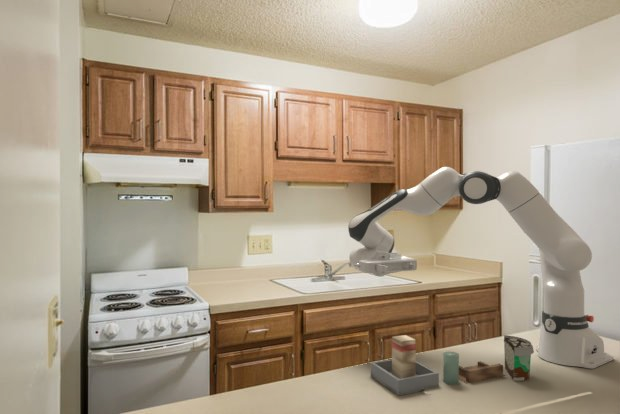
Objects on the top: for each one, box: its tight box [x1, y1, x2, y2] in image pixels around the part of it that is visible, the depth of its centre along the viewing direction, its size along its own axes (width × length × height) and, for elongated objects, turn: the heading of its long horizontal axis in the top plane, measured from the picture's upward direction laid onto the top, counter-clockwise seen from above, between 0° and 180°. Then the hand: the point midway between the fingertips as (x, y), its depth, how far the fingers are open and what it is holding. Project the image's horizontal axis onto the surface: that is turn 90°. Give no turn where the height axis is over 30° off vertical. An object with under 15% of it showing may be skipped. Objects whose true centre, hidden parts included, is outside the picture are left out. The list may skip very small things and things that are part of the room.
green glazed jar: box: [442, 351, 460, 386], centre depth 115 cm, size 4×4×8 cm
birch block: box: [391, 334, 417, 379], centre depth 116 cm, size 5×5×11 cm
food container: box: [503, 335, 535, 383], centre depth 119 cm, size 12×6×10 cm, turn 168°
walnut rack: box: [459, 360, 507, 384], centre depth 120 cm, size 14×9×4 cm, turn 112°
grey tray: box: [370, 358, 440, 397], centre depth 116 cm, size 13×14×4 cm
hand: (401, 268), depth 136 cm, fingers open, 8 cm apart
